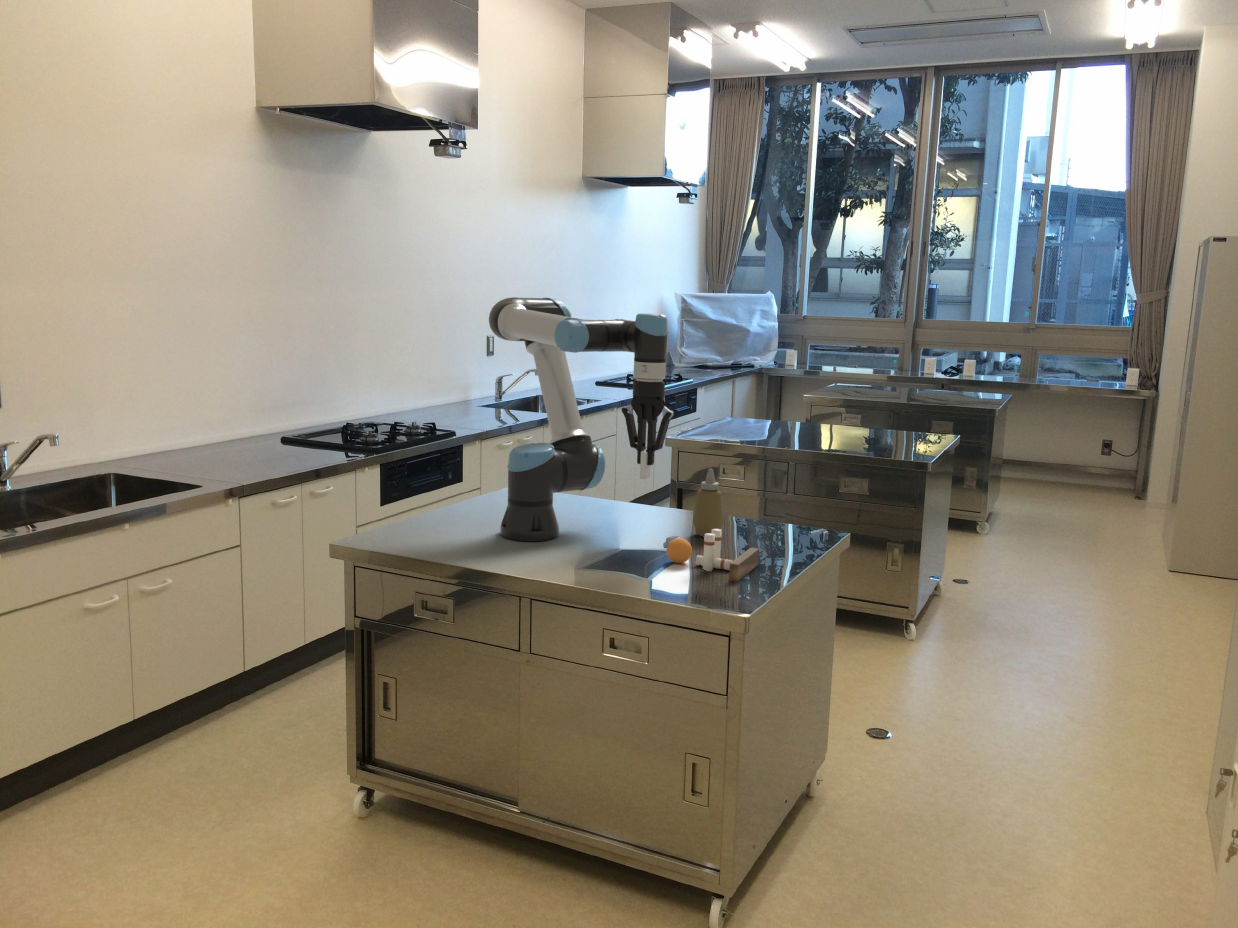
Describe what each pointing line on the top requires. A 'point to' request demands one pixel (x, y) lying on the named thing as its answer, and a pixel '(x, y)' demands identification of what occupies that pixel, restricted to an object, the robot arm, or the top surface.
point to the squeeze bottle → (708, 506)
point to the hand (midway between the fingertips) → (644, 477)
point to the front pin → (715, 562)
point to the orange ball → (679, 550)
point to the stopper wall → (743, 564)
